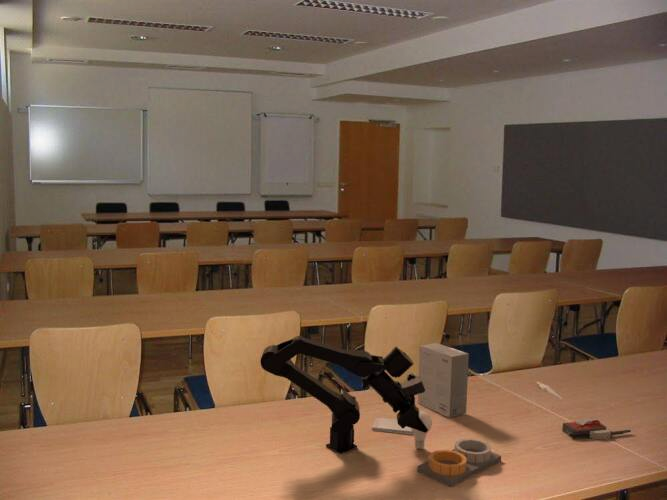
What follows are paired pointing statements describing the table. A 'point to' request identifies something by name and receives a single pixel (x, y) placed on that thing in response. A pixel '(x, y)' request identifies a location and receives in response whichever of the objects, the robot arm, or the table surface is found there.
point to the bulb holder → (459, 461)
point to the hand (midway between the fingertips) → (425, 426)
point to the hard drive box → (443, 379)
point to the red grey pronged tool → (589, 429)
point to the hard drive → (390, 426)
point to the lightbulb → (421, 435)
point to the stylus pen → (548, 389)
